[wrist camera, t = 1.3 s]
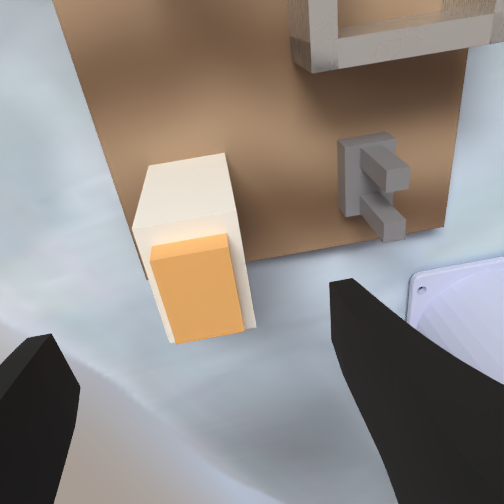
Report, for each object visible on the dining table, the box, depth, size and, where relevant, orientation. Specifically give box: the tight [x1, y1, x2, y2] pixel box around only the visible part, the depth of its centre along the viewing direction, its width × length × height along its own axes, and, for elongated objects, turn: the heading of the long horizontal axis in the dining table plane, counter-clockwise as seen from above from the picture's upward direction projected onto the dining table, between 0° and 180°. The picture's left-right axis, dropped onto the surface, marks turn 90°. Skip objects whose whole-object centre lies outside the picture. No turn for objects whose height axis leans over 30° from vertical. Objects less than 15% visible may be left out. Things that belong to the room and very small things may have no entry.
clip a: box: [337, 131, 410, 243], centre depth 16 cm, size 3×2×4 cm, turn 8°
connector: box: [132, 153, 256, 344], centre depth 15 cm, size 4×3×6 cm, turn 8°
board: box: [52, 0, 468, 280], centre depth 15 cm, size 16×14×1 cm
